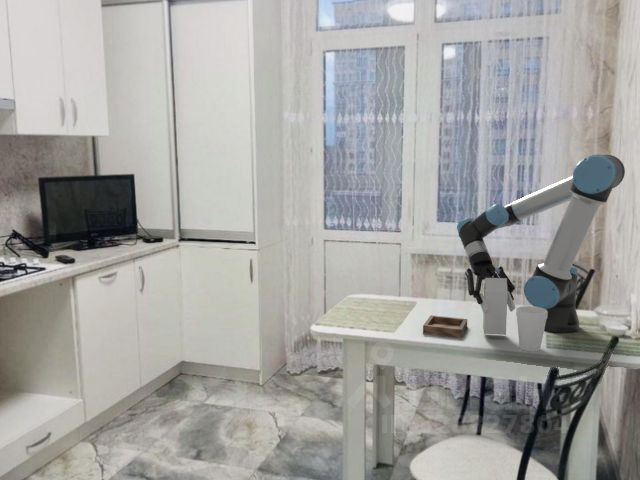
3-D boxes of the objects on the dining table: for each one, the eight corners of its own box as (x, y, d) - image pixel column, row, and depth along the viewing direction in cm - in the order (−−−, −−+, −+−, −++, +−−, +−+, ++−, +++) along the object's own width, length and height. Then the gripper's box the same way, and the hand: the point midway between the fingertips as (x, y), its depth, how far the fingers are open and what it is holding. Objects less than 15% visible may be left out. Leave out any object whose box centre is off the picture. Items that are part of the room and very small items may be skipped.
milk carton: (505, 335, 199) (508, 280, 196) (484, 334, 200) (486, 280, 197) (503, 329, 205) (505, 276, 203) (482, 328, 207) (484, 275, 204)
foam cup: (513, 342, 197) (515, 305, 195) (542, 344, 195) (544, 306, 193) (516, 352, 188) (518, 313, 185) (547, 354, 186) (549, 314, 184)
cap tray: (467, 326, 214) (467, 319, 213) (461, 338, 202) (461, 329, 201) (430, 322, 219) (430, 315, 218) (422, 333, 207) (423, 325, 206)
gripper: (501, 260, 217) (524, 313, 204) (446, 263, 212) (466, 318, 199) (510, 248, 211) (533, 302, 198) (453, 252, 206) (474, 307, 193)
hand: (499, 310), depth 198 cm, fingers closed on milk carton, 9 cm apart
